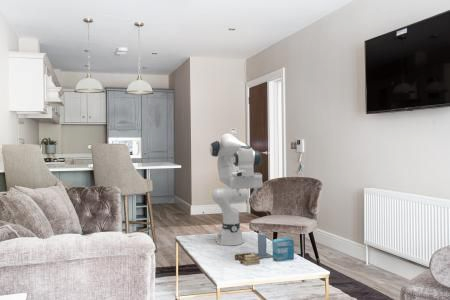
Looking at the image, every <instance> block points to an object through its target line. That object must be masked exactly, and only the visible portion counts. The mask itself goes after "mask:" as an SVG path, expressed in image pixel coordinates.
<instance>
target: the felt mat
mask: <svg viewBox="0 0 450 300" xmlns="http://www.w3.org/2000/svg"><path fill="white" fill-rule="evenodd" d="M251 255H255V256H257V257H258V258H259V260H262V259H269V258H272V259H273V254H270V253H268V252H266V256H263V257H262V256H260V255H258V253H251Z"/></svg>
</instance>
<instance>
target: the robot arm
mask: <svg viewBox="0 0 450 300" xmlns="http://www.w3.org/2000/svg"><path fill="white" fill-rule="evenodd" d="M209 153H210V155H211V156H212V157H215V158H216V157H217V172H218V178H219V179H218V180H219V181H220V182H221V183H222V184H223V185H226V186H224V187H223V186H221V187H217V188H214V190H213V191H212V194H211V197H212V201H213V202H214V203H215V204H217V206H219V207H220V209H221V213H222V224H221V229H220V230H219V232H218V233H217V238H216V239H215V241H216V244H218V245H219V246H239V245H242V244H243V243H245V240H244V239H243V231H242V230H241V229H240V228H241V227H240V226H241V224H240V212H239V210H238V209H237V208H234V207H233V206H231V205H232V204H233V203H234V204H235V203H241V202H242V203H243V202H246V201H247V200H248V199H249V195H250V193H249V190H248V189H253V192H252V193H251V195H252V196H256V195H257V192H258V189H261V188H263V186H264V181H263V174H262V173H261V172H260V171H259V172H255V171H254V170H255V169H254V167H255V168H257V167H259V166H261V165H262V163H263V155H262V153H261V152H260V151H259V150H255V149H254V148H253V147H252V146H251V145H248V144H247V143H244V142H243V141H241V140H239V139H238V138H237V137H236V136H235V135H234V134H231V133H224V134H223V135H222V136H221V137H220V140H216V141H213V142H212V143H210V144H209ZM234 166H235V167H238V170H236V171H235V169H234Z"/></svg>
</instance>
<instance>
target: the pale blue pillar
mask: <svg viewBox="0 0 450 300" xmlns="http://www.w3.org/2000/svg"><path fill="white" fill-rule="evenodd" d="M266 253H267V234H266V233H263V232H258V233H257V254H258V255H260V256H262V257H263V256H266Z"/></svg>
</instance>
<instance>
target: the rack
mask: <svg viewBox="0 0 450 300" xmlns="http://www.w3.org/2000/svg"><path fill="white" fill-rule="evenodd" d="M251 254H252V253H251V252H247V253H246V252H245V253H237V254H236V253H235V254H234V260H235V261H240V264H242V261H244V255H251ZM256 257H257V256H256Z"/></svg>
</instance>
